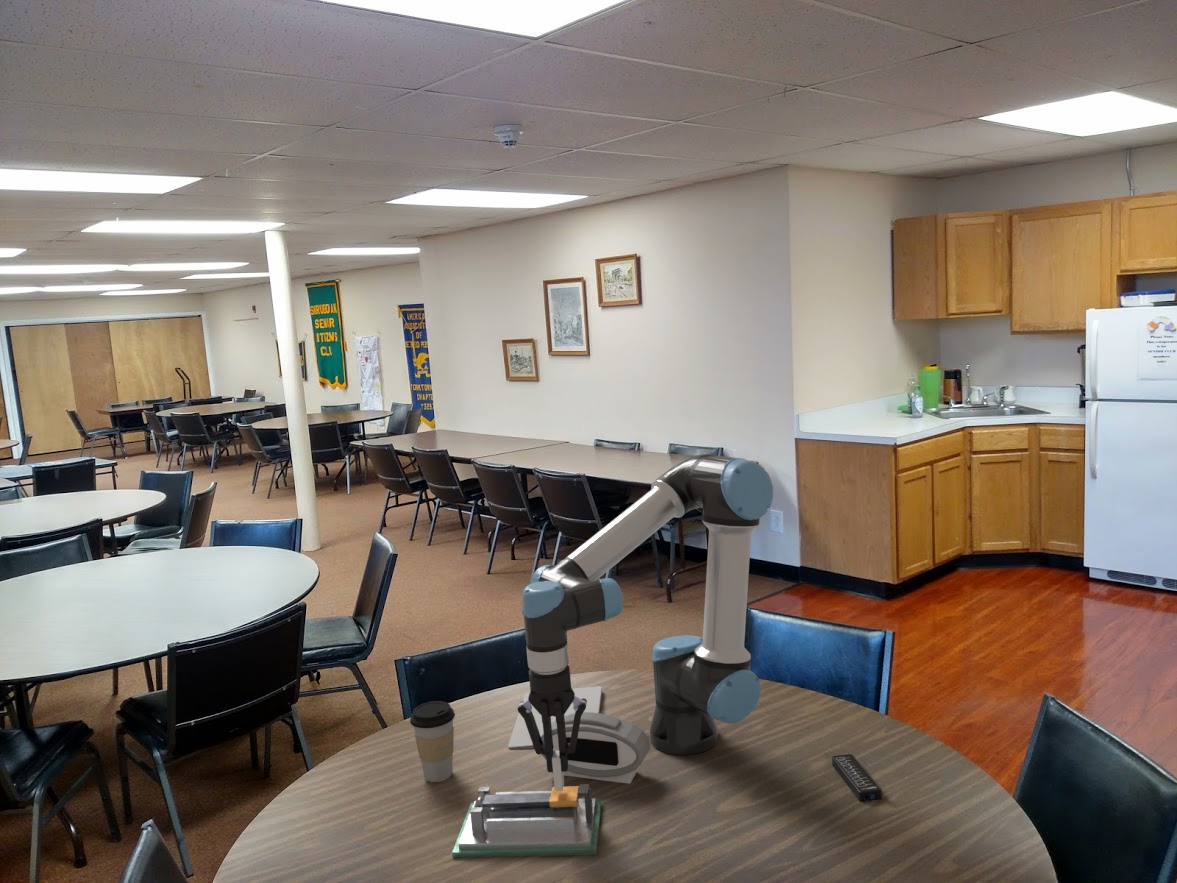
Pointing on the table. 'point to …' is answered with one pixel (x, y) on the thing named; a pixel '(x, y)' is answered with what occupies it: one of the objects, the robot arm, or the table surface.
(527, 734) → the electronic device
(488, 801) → the orange tipped grey lever
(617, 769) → the alarm clock
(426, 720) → the coffee cup
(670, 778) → the table surface
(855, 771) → the multiport hub
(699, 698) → the robot arm
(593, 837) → the heatsink
